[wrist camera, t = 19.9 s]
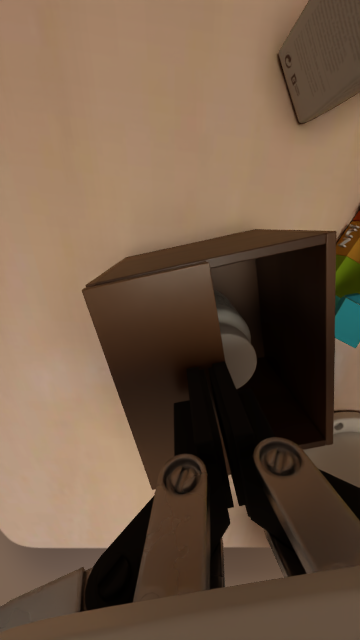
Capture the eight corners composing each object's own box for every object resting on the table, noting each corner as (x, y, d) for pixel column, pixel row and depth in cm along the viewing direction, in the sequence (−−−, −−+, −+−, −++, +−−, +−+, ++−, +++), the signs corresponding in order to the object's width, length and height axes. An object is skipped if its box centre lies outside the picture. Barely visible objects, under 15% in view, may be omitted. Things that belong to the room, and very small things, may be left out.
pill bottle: (165, 309, 20) (162, 357, 12) (212, 276, 19) (238, 307, 12) (197, 349, 21) (211, 414, 14) (241, 320, 20) (282, 372, 13)
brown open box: (267, 357, 22) (333, 444, 13) (158, 379, 22) (151, 478, 13) (256, 229, 18) (336, 231, 9) (125, 257, 19) (84, 285, 10)
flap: (241, 467, 13) (243, 472, 13) (152, 484, 13) (152, 490, 13) (208, 261, 9) (209, 262, 9) (83, 288, 9) (81, 290, 9)
